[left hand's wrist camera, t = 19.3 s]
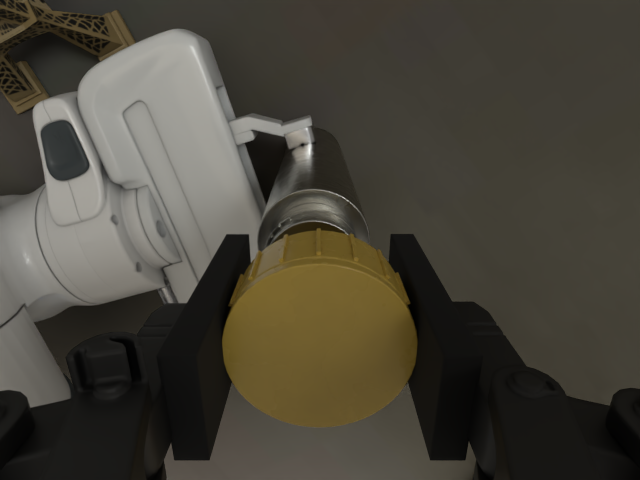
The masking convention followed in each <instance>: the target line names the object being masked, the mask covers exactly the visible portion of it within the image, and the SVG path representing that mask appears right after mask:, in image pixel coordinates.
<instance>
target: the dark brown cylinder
mask: <svg viewBox="0 0 640 480" xmlns="http://www.w3.org/2000/svg"><path fill="white" fill-rule="evenodd" d="M314 130H315V134H316V137H317V141H315V142H313V143H310V144H304V143H302V144H301V145H300V146H299V147H296V148H293V149H289V148H288V145H287V147H286V150H285V153H284V156H283V159H282V162H281V165H280V168H279V170H278V173H277V176H276V179H275V182H274V185H273V188H272V191H271V194H270V197H269V199H268V202H267V205H266V208H265V211H264V214H263V217H262V220H261V223H260V226H259V229H258V234H257V248H258V251H259V250H260V251H261V252H262V251H263V250H264V249H265V248H267V247H268V246H270V245H271V244H273V243H274V242H276V241H278V240H280V239H282V238H283V237H284V235H286V234H288V236H290V235H293V234H297V233H301V232H307V231H317V228H321V231H333V232H338V233H343V234H347V235H350V233H351V234H354V237H355V238H357V239H359V240H361V241H364V242H365V243H367V244H368V245H370V235H369V229H368V226H367V222H366V220H365V217H364V214H363V211H362V208H361V205H360V203H359V200H358V197H357V194H356V191H355V188H354V186H353V183H352V180H351V177H350V174H349V171H348V169H347V166H346V163H345V160H344V157H343V154H342V152H341V149H340V146H339V144H338V142H337V140H336V139H335V138H334V137H333V136H332V135H331V134H330V133H329V132H327V131H325V130H323V129H319V128H314Z"/></svg>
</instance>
